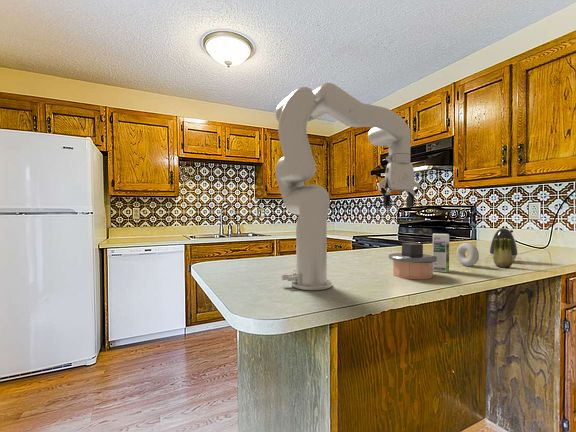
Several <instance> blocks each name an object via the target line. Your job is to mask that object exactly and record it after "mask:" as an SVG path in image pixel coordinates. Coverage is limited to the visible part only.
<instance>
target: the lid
mask: <svg viewBox="0 0 576 432" xmlns="http://www.w3.org/2000/svg"><path fill="white" fill-rule="evenodd" d="M388 259H389V260H392V261H393V260H395V261H402V262H412V263H431V262H436V261H437V257H435V256H433V254H431V255H430V254H425V253H424V244H422V243H418V242H417V243H416V242H402V243H401V252H394V253H390V254H388Z"/></svg>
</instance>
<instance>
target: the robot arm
mask: <svg viewBox="0 0 576 432" xmlns="http://www.w3.org/2000/svg"><path fill="white" fill-rule="evenodd" d="M326 114H327V115H329V116H331V117H332V118H334V119H336V120H337V121H339V122H340V123H342V124H343V125H345V126H347V127H351V128H370V129H369V131H368V134H367V139H368V141H369V143H370V144H372V145H373V146H375V147H388V156H385V160H386V161H387V162H388V163H387V165H386V169H385V173H384V179H383V180H380V181H379V182H377V184H376V186H377V187H378V191H379V192H380V193H381V195H382V196H383V200H382V202H383V207H390V206H391V195H390V193H391V192H405V193H406V194H407V196H406V207H408V208H411V207H412V208H413V207H414V204H415V196H416V195H417V194H418V193H419V190H420V189H421V188H420V187H421V184H420V183H419V182H417V181H415V170H414V166H413V165H414V164H413V163H411V145H412V143H411V142H412V141H411V138H412V137H411V136H412V135H411V133H412V131H411V128H410V126H408V124H407V122H406V121H405V120H404V119H403V118H402V116H401V115H399V114H397V113H396V112H394V111H393V110H391V109H389V108H386V107H382V106H380V105H379V106H377V105H373V104H369V103H363V102H362V101H360V100H359V99H356V98H355V97H354V96H353V95H351V94H349V93H348V92H346V91H345V90H344V89H342V88H341V87H339V86H338V85H336V84H335V83H332V82H325V83H323V84H321V85H319V86H318V87H317V88H315V89H314V90H312V89H311V88H310V87H308V86H301V87H298V88H297V89H295V90H294V91H292V92H291V93H289V95H288V96H286V97H285V98H283V100H281V101H280V102H279V104H278V105H277V107H276V109H275V118H276V120H277V121H278V128H277V129H278V131H277V133H278V140H279V144H280V148H281V151H282V152H281V153H282V155H283V156H282V157H281V158H279V159H278V160H277V163H276V165H275V170H274V173H275V174H274V175H275V179H276V182H277V186H278V189H279V192H280V195H281V198H282V201H283V204H284V206H285V208H286V209H287V211H288V212H289V213H291V214H293V215H295V216H298V218H297V222H296V227H295V234H296V235H295V237H296V240H295V241H296V242H295V243H296V244H295V245H296V246H295V247H296V249H295V251H296V254H295V255H296V257H295V259H296V260H295V262H296V265H295V266H296V267H295V268H296V269H293V272H291V273H282V274H281V277H280V279H281V280H282V281H287V282H291V287H293V288H294V289H298V290H302V291H303V290H304V291H322V290H328V289H329V288H331V287H332V285H333V283H332V281H331V280H329V279H327V278H328V276H327V271H328V270H327V268H328V267H327V266H328V265H327V261H328V260H327V259H328V258H327V257H328V255H327V249H328V248H327V246H328V245H327V244H328V243H327V241H328V240H327V238H328V237H327V236H328V235H327V232H328V231H327V225H328V224H327V223H328V215H329V210H330V209H329V208H330V195H329V193H328V191H327V189H326V188H325V187H323V186H321V185H320V184H306V185H305V182H307V181H310V180H311V179H312V178H314V177H315V175H316V172H317V166H316V162H315V161H316V160H315V159H314V155H313V152H312V149H311V144H310V142H309V139H308V132H307V126H308V122H311V121H313V120H315V119H318V118H321V117H322V116H324V115H326Z"/></svg>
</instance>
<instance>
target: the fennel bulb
mask: <svg viewBox="0 0 576 432" xmlns="http://www.w3.org/2000/svg"><path fill="white" fill-rule="evenodd" d="M511 242H512V240H510V239H508V240H507V239H506V238H504V244H503V239H499V248H498V240H497V239H494V255H493V257H494V259H493V263H494V265H495V267H499V268H503V269H505V268H506V269H508V268H510V267H511V266H512V265H513V261H514V260H513V258H512V252H511Z"/></svg>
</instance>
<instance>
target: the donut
mask: <svg viewBox="0 0 576 432" xmlns="http://www.w3.org/2000/svg"><path fill="white" fill-rule="evenodd" d="M466 252H468V254H469V255H468V257H467V256H466ZM455 255H456V256H455V257H456V259H457V261H458V262H459V263H460V264H461V265H463V266H465V267H473V266H475V265H476V264H477V263H478V261H479V257H480V254H479V250H478V248H477V247H476V245H474V244H472V243H470V242H463V243H460V244H459V245H458V246H457V248H456V253H455Z"/></svg>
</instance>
